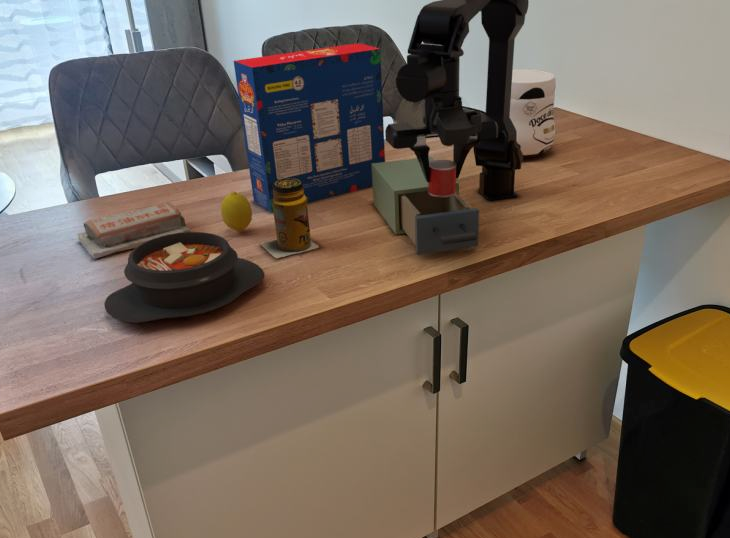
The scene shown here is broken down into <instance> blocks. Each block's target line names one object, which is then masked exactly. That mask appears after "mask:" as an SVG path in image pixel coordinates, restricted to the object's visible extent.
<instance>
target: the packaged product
mask: <svg viewBox="0 0 730 538" xmlns="http://www.w3.org/2000/svg"><path fill="white" fill-rule="evenodd" d="M83 228H84V230H85V232H82V233H81V232H80V233H77V234H76V236H77V238H78V240H79V242H80V243H81V245H82V246H83V247H84V248H85V250H86V251H87V253H88V254H89V255H90V256H91V257H92V258H93V259H94V260H96V259H99V258H102V257H105V256H109V255H112V254H115V253H120V252H123V251H127V250H131V249H132V250H133V249H135V248H136V247H137V246H139V245H141V244H143V243H144V242H147V241H149V240H151V239H154V238H157V237H161V236H165V235H169V234H175V233H184V232H191V228H189V227H188V226H187V225H186V220H185V217H184V216H183V215H182V212H181V210H179V209H178V207H176V206H175V205H174V204H172V203H171V202H162V203H158V204H154V205H150V206H144V207H140V208H135V209H131V210H126V211H123V212H118V213H114V214H109V215H106V216H101V217H97V218H92V219H89V220H86V221H84V222H83Z"/></svg>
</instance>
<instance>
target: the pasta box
mask: <svg viewBox="0 0 730 538" xmlns="http://www.w3.org/2000/svg"><path fill="white" fill-rule="evenodd" d="M381 58H382V57H381V48H379V47H375V46H372V45H368V44H363V43H359V42H357V43H351V44H350V43H349V44H342V45H337V46H330V47H329V46H328V47H322V48H315V49H306V50H300V51H294V52H287V53H279V54H278V53H277V54H274V55H272V54H271V55H265V56H257V57H251V58H244V59H243V58H242V59H235V60H233V67H234V75H235V81H236V82H235V83H236V86H237V87H236V89H237V95H238V102H239V108H240V116H241V123H242V129H243V137H244V143H245V151H246V157H247V162H248V170H249V178H250V185H251V191H252V197H253V202H254V203H255V204H257V205H258V206H260V207H262V208H263V209H264V210H266V211H268V212H269V213H271V214H272V213H273V214H274V212H273V205H272V199H273V197H274V195H273V187H272V186H273V184H274V182H276V181H277V180H281V179H288V178H291V179H292V178H293V179H298V180H300V181H301V182H302V184H303V190H304V195H305V196H306V200H307V204H311V203H314V202H318V201H322V200H326V199H331V198H334V197H337V196H341V195H345V194H349V193H353V192H357V191H360V190H364V189H368V188H373V184H372V165H371V164H372V163H381V162H386V153H385V152H386V150H385V129H384V127H385V126H384V125H385V124H384V105H383V104H384V103H383V82H382V81H383V79H382V59H381Z"/></svg>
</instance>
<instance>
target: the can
mask: <svg viewBox="0 0 730 538" xmlns="http://www.w3.org/2000/svg"><path fill="white" fill-rule="evenodd" d="M456 166H457V163H456V162H454V161H453V160H452V159H434V160H433V161H430V162H429V167H430V182H428V194H429V195H431V196H434V197H441V198H442V197H451V196H453V195H455V194H456V181H457V179H456Z"/></svg>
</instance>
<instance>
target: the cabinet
mask: <svg viewBox="0 0 730 538" xmlns="http://www.w3.org/2000/svg"><path fill="white" fill-rule="evenodd" d="M433 160H435V159H434V158H433V157H432V156H429V162H430V161H433ZM371 165H372V184H373V186H372V199H373V200H372V201H373V202H372V203H373V205H374V207H375V208H376V209H377V212H379V214H380V216H381V217H382V218H383V219H384V221H385V222H386V223H387V225H388V226H389V228H390V229H391V230H392V231H393V233H394V234H395V235H402V234H404V235H405V234H406V232H405V231H404V230H403V228H402V227H401V226H400V224H399V199H398V195H399V194H407V193H415V192H423V191H428V182H427V181H426V180H425V177H424V174H423V172H422V169H421V167H420V164H419V161H418V159H417V157H415V158H409V159H399V160H391V161H385V162H381V163H372V164H371ZM456 193H457V194H458V195H459V196H460V182H458V181H457V180H456Z"/></svg>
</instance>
